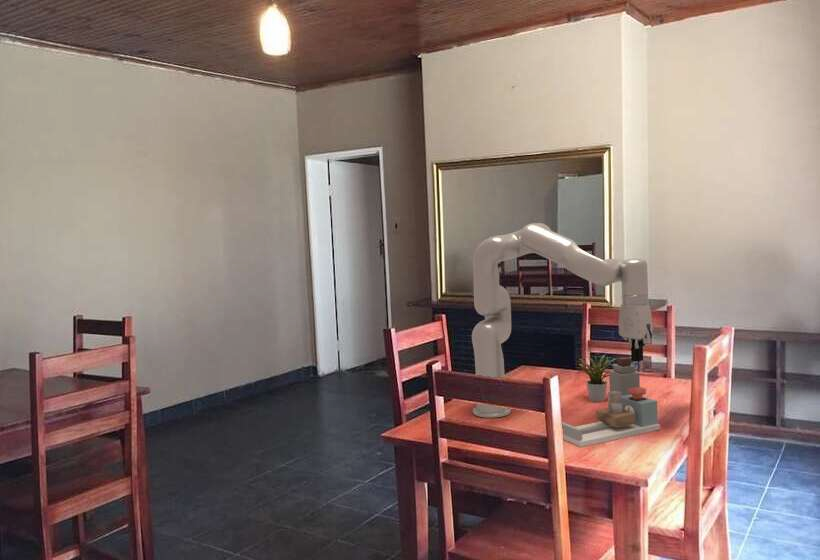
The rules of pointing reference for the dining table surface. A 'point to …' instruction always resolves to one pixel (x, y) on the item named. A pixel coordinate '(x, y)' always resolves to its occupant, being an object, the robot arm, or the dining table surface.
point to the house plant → (596, 379)
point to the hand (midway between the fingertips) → (637, 360)
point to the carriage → (615, 412)
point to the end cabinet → (641, 410)
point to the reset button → (637, 392)
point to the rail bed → (601, 432)
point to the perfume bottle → (623, 376)
